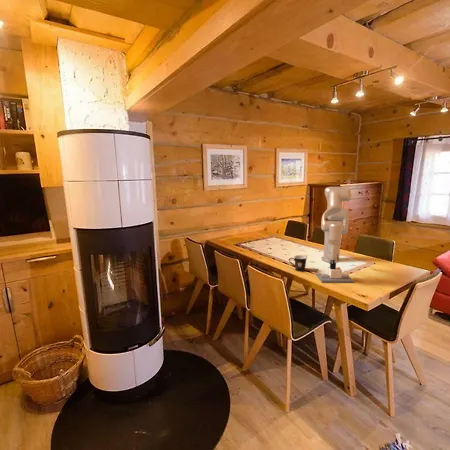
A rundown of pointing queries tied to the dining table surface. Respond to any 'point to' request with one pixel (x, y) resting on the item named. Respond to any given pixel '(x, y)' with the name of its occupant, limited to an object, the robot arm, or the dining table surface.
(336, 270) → the block
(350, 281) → the mounting board
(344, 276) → the rail
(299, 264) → the coffee mug
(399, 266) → the dining table surface
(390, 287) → the dining table surface
